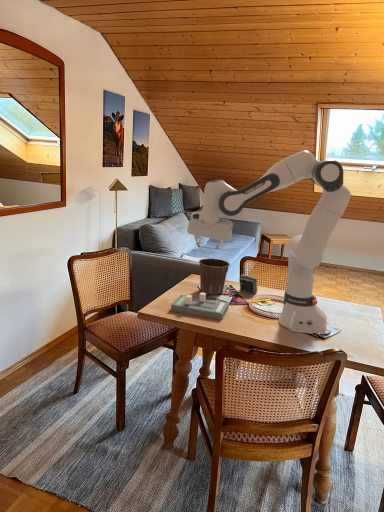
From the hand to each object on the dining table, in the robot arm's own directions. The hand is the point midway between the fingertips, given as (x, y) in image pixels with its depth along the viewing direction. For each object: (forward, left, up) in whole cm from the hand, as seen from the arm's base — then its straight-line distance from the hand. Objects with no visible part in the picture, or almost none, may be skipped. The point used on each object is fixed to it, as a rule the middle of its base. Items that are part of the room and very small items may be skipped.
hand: (207, 247), depth 176 cm
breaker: (+6, +4, -27) cm, 28 cm away
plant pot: (+2, -26, -30) cm, 40 cm away
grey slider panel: (+1, +1, -30) cm, 30 cm away
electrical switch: (-16, -34, -31) cm, 49 cm away
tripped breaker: (+1, -2, -27) cm, 27 cm away
